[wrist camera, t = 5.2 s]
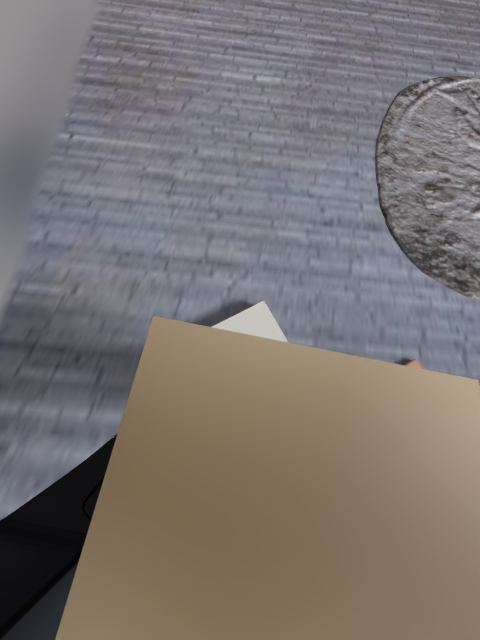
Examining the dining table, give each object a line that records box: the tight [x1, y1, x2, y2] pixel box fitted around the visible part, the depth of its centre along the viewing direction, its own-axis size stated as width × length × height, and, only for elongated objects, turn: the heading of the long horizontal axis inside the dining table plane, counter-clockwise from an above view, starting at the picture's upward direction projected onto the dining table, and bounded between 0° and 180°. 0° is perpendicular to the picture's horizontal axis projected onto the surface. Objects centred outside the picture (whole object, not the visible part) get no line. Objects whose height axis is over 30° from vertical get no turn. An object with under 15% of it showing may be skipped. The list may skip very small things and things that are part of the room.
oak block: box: [55, 316, 480, 640], centre depth 9 cm, size 4×4×13 cm
